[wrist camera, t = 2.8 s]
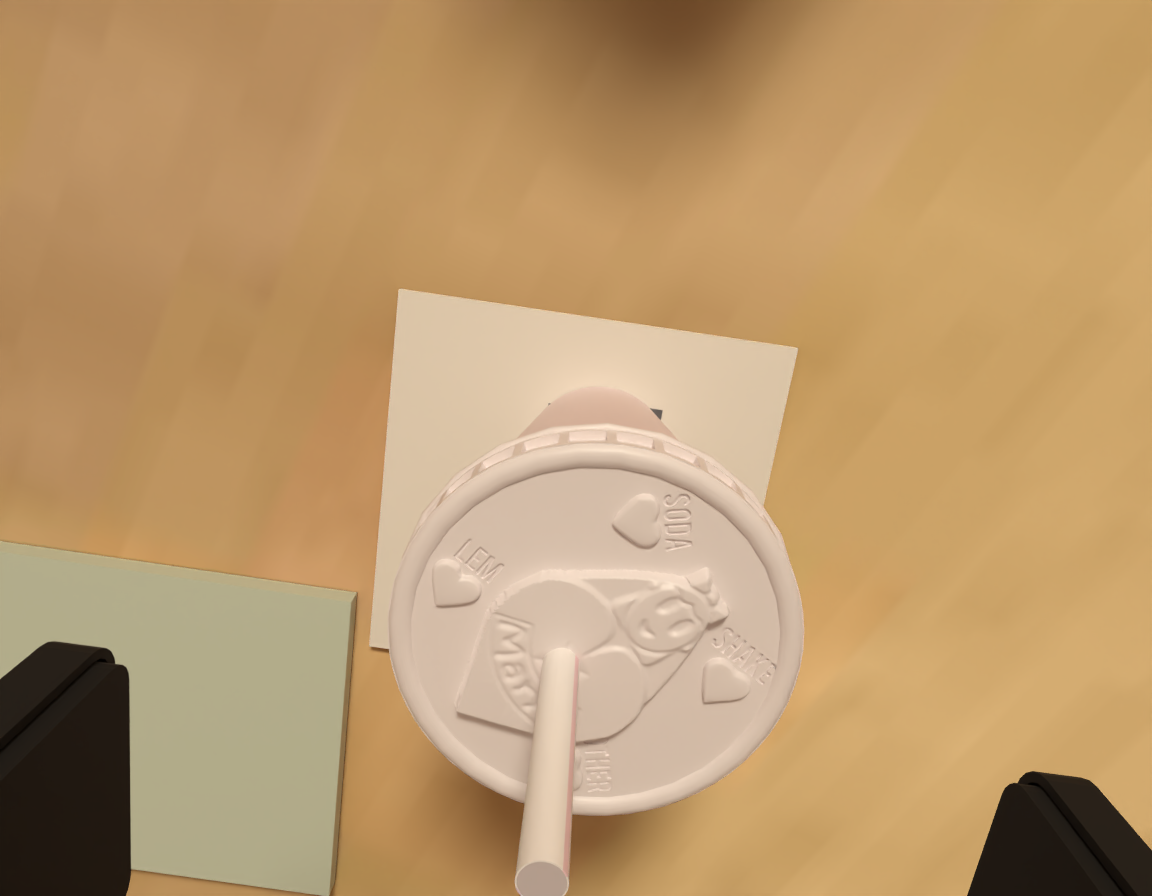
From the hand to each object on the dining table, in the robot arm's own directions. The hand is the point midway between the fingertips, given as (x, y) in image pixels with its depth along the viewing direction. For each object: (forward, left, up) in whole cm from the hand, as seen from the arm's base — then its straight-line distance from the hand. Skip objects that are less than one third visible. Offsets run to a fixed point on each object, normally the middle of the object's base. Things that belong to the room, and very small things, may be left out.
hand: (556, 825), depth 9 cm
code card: (0, +1, -14) cm, 14 cm away
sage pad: (+11, +10, -14) cm, 20 cm away
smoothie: (0, 0, -14) cm, 14 cm away
